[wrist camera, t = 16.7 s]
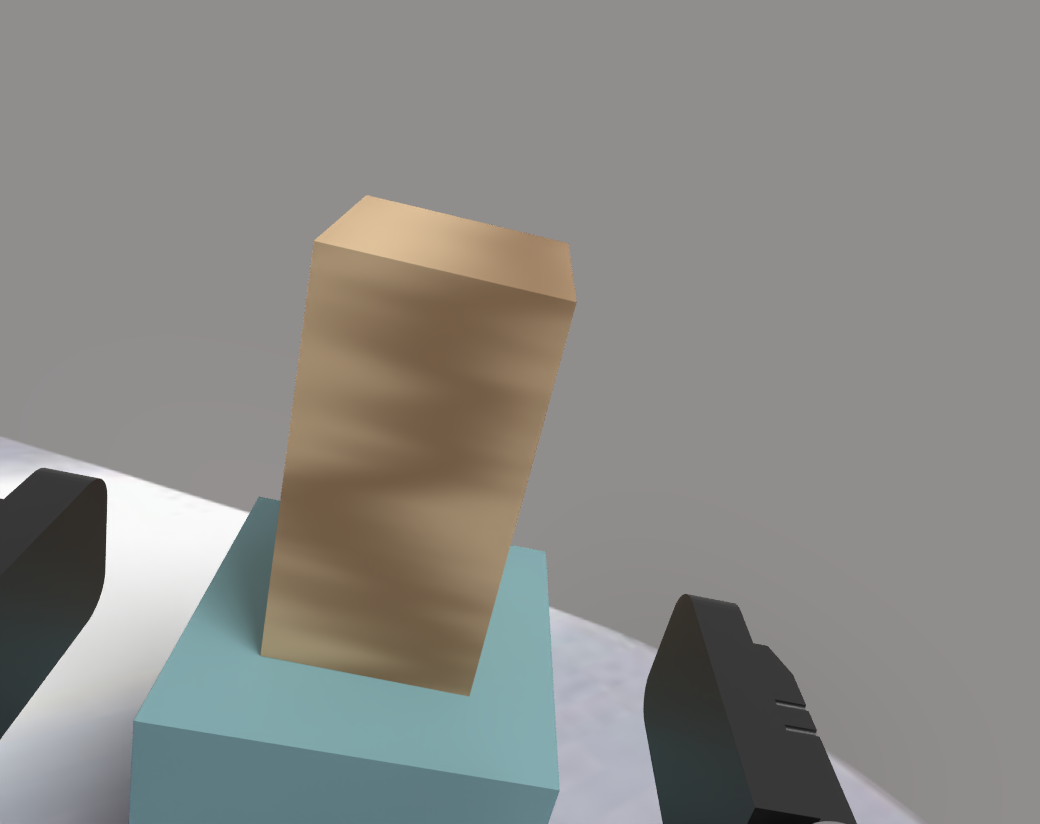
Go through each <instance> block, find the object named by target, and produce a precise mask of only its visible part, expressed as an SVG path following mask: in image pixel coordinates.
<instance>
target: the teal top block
mask: <svg viewBox="0 0 1040 824" xmlns="http://www.w3.org/2000/svg"><path fill="white" fill-rule="evenodd" d="M279 508H280V501H278V500H273V499H268V498H263V497H259V498H258V499H257V501H256V503H255V505H254V507H253V509H252V510H251V512H250V514H249V515H248V517H247V519H246V521H245V523H244V524H243V526H242V528H241V530H240V532H239V533H238V535H237V537H236V539H235V541H234V542H233V544H232V546H231V548H230V549H229V551H228V553H227V555H226V557H225V558H224V560H223V562H222V564H221V566H220V567H219V569H218V571H217V573H216V574H215V576H214V578H213V580H212V582H211V583H210V585H209V587H208V589H207V591H206V592H205V594H204V596H203V598H202V599H201V601H200V603H199V605H198V607H197V608H196V610H195V612H194V614H193V616H192V617H191V619H190V621H189V623H188V625H187V626H186V628H185V630H184V632H183V633H182V635H181V637H180V639H179V641H178V642H177V644H176V646H175V648H174V650H173V651H172V653H171V655H170V657H169V658H168V660H167V662H166V664H165V666H164V667H163V669H162V671H161V673H160V675H159V676H158V678H157V680H156V682H155V684H154V685H153V687H152V689H151V691H150V692H149V694H148V696H147V698H146V700H145V701H144V703H143V705H142V707H141V709H140V710H139V712H138V714H137V716H136V717H135V719H134V723H133V745H132V766H131V787H130V808H129V824H548V822H549V819H550V816H551V813H552V810H553V807H554V805H555V802H556V799H557V796H558V793H559V790H560V789H559V772H558V755H557V738H556V721H555V703H554V686H553V669H552V652H551V635H550V618H549V600H548V585H547V584H548V583H547V567H546V552H544V551H539V550H534V549H528V548H523V547H518V546H513V545H510V549H509V553H508V556H507V560H506V564H505V568H504V571H503V575H502V579H501V582H500V586H499V590H498V593H497V597H496V601H495V604H494V608H493V612H492V615H491V619H490V623H489V626H488V630H487V634H486V638H485V641H484V645H483V649H482V652H481V656H480V660H479V663H478V667H477V671H476V674H475V678H474V682H473V685H472V689H471V693H470V696H464V695H459V694H453V693H448V692H443V691H438V690H433V689H428V688H423V687H418V686H413V685H407V684H402V683H397V682H392V681H387V680H382V679H377V678H372V677H367V676H361V675H356V674H351V673H346V672H341V671H336V670H331V669H326V668H321V667H315V666H310V665H305V664H300V663H295V662H290V661H285V660H280V659H275V658H269V657H264V656H260V655H261V647H262V639H263V632H264V624H265V616H266V608H267V601H268V593H269V585H270V577H271V570H272V562H273V554H274V547H275V539H276V531H277V523H278V516H279Z"/></svg>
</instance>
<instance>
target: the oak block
mask: <svg viewBox="0 0 1040 824" xmlns="http://www.w3.org/2000/svg"><path fill="white" fill-rule="evenodd" d="M575 306H576V295H575V288H574V280H573V274H572V266H571V259H570V251H569V245H568V243H565V242H561V241H556V240H552V239H548V238H544V237H540V236H535V235H531V234H527V233H522V232H519V231H515V230H510V229H506V228H502V227H498V226H493V225H490V224H485V223H481V222H477V221H473V220H469V219H464V218H460V217H456V216H451V215H448V214H443V213H439V212H435V211H431V210H426V209H423V208H418V207H414V206H410V205H406V204H402V203H397V202H393V201H389V200H385V199H380V198H376V197H372V196H368V195H366V196H365V197H364V198H363V199H362V200H360V202H358V203H357V204H356V205H355V206H354V207H352V208H351V209H350V210H349V211H348V212H347V213H345V214H344V215H343V216H342V217H341V218H340V219H339V220H337V221H336V222H335V223H334V224H333V225H332V226H331V227H329V228H328V229H327V230H326V231H325V232H324V233H322V234H321V235H320V236H319V237H318V238H317V239H316V240H314V245H313V253H312V261H311V268H310V276H309V284H308V292H307V299H306V307H305V315H304V322H303V331H302V338H301V345H300V353H299V361H298V369H297V376H296V385H295V393H294V400H293V408H292V415H291V423H290V431H289V438H288V446H287V454H286V462H285V469H284V477H283V485H282V492H281V500H280V508H279V516H278V523H277V531H276V539H275V547H274V554H273V562H272V570H271V577H270V585H269V593H268V601H267V608H266V616H265V624H264V632H263V639H262V647H261V655H260V656H264V657H269V658H275V659H280V660H285V661H290V662H295V663H300V664H305V665H310V666H315V667H321V668H326V669H331V670H336V671H341V672H346V673H351V674H356V675H361V676H367V677H372V678H377V679H382V680H387V681H392V682H397V683H402V684H407V685H413V686H418V687H423V688H428V689H433V690H438V691H443V692H448V693H453V694H459V695H464V696H470V693H471V689H472V685H473V682H474V678H475V674H476V671H477V667H478V663H479V660H480V656H481V652H482V649H483V645H484V641H485V638H486V634H487V630H488V626H489V623H490V619H491V615H492V612H493V608H494V604H495V601H496V597H497V593H498V590H499V586H500V582H501V579H502V575H503V571H504V568H505V564H506V560H507V556H508V553H509V549H510V545H511V542H512V538H513V534H514V531H515V527H516V523H517V520H518V516H519V512H520V509H521V505H522V501H523V497H524V494H525V490H526V486H527V483H528V479H529V475H530V471H531V468H532V464H533V461H534V457H535V453H536V450H537V446H538V442H539V439H540V435H541V431H542V427H543V424H544V420H545V416H546V412H547V409H548V405H549V401H550V398H551V394H552V391H553V387H554V383H555V380H556V376H557V372H558V368H559V365H560V361H561V357H562V354H563V350H564V346H565V343H566V338H567V335H568V332H569V328H570V324H571V320H572V317H573V313H574V309H575Z"/></svg>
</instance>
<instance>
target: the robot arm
mask: <svg viewBox="0 0 1040 824" xmlns="http://www.w3.org/2000/svg"><path fill="white" fill-rule="evenodd" d="M106 523H107V488H106V484H105V482H104V481H103V480H102V479H99V478H94V477H89V476H83V475H78V474H73V473H68V472H63V471H58V470H53V469H47V468H40V469H38V470H36V471H35V472H34V473H33V474H32V475H30V476H29V477H28V478H27V479H26V480H25V481H24V482H23V483H21V484H20V485H19V486H18V487H17V488H16V489H15V490H14V491H12V492H11V493H10V494H9V495H8V496H7V497H6V498H5V499H0V739H1V738H2V736H3V735H4V734H5V732H6V731H7V730H8V728H9V727H10V726H11V724H12V723H13V721H14V720H15V719H16V717H17V716H18V715H19V713H20V712H21V711H22V709H23V708H24V707H25V705H26V704H27V703H28V701H29V700H30V699H31V697H32V696H33V695H34V693H35V692H36V691H37V689H38V688H39V687H40V685H41V684H42V682H43V681H44V680H45V678H46V677H47V676H48V674H49V673H50V672H51V670H52V669H53V668H54V666H55V665H56V664H57V662H58V661H59V660H60V658H61V657H62V656H63V654H64V653H65V652H66V650H67V649H68V648H69V646H70V645H71V643H72V642H73V641H74V639H75V638H76V637H77V635H78V634H79V633H80V631H81V630H82V629H83V627H84V626H85V625H86V623H87V622H88V620H89V619H90V617H91V616H92V614H93V612H94V610H95V608H96V606H97V603H98V601H99V598H100V595H101V592H102V588H103V584H104V578H105V560H106ZM805 706H806V704H805V702H804V699H803V697H802V695H801V693H800V690H799V688H798V686H797V683H796V681H795V679H794V676H793V674H792V673H791V672H790V671H789V670H788V669H787V668H786V666H785V665H784V664H783V663H782V662H781V661H780V660H779V658H778V657H777V656H776V655H775V654H774V653H773V652H772V650H771V649H770V648H769V647H768V646H765V645H759V644H754V643H753V642H752V639H751V637H750V634H749V631H748V629H747V626H746V624H745V621H744V618H743V616H742V613H741V611H740V609H739V607H738V606H737V605H736V604H735V603H729V602H724V601H719V600H714V599H709V598H703V597H698V596H693V595H688V594H684V595H682V596H681V597H680V598H679V600H678V601H677V603H676V605H675V608H674V610H673V613H672V615H671V618H670V621H669V624H668V626H667V629H666V631H665V634H664V636H663V639H662V642H661V644H660V647H659V649H658V652H657V655H656V657H655V660H654V662H653V665H652V668H651V670H650V673H649V676H648V679H647V683H646V688H645V695H644V722H645V728H646V733H647V739H648V744H649V750H650V755H651V761H652V766H653V772H654V777H655V783H656V788H657V794H658V799H659V805H660V810H661V816H662V821H663V824H857V823H856V821H855V818H854V816H853V814H852V811H851V809H850V807H849V804H848V802H847V800H846V797H845V795H844V793H843V790H842V788H841V786H840V783H839V781H838V779H837V776H836V774H835V772H834V769H833V767H832V765H831V762H830V760H829V758H828V755H827V753H826V751H825V748H824V746H823V744H822V741H821V739H820V737H818V736H816V731H817V730H816V727H815V725H814V723H813V721H812V718H811V716H810V714H809V712H808V711H806V710H805Z"/></svg>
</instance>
